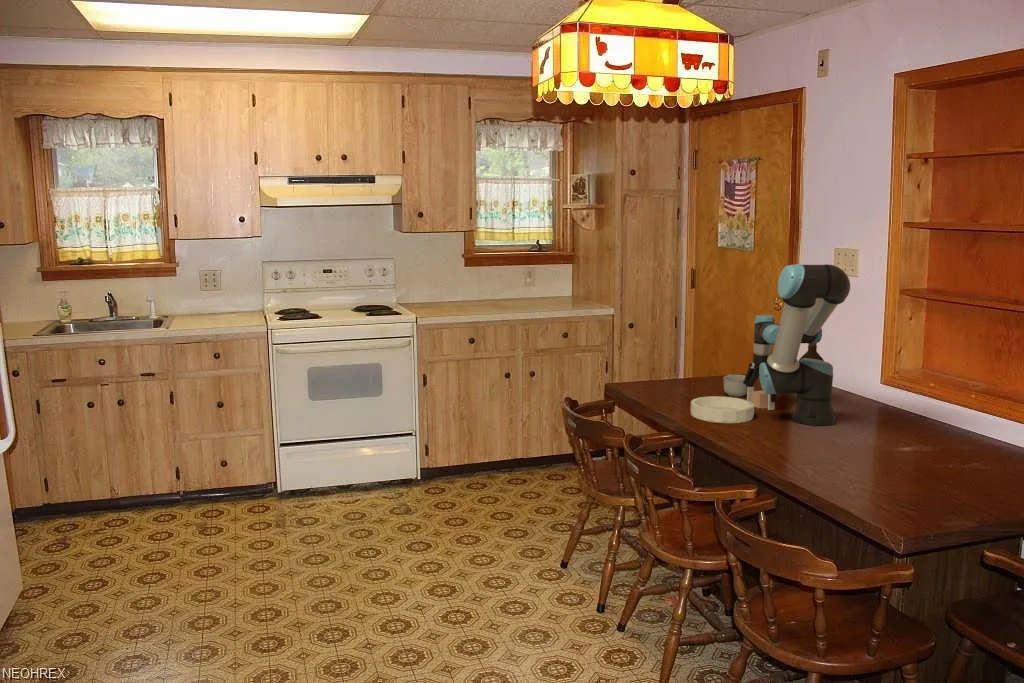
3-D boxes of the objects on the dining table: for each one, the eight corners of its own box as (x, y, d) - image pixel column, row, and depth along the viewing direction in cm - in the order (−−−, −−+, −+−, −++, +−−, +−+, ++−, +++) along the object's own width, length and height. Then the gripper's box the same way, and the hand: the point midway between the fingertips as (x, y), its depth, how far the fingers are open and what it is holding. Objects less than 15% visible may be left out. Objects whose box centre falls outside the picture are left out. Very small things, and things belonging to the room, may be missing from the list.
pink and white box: (769, 407, 350) (770, 393, 349) (759, 408, 348) (760, 394, 347) (761, 404, 354) (762, 390, 353) (751, 406, 352) (752, 391, 351)
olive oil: (813, 406, 352) (817, 345, 348) (790, 401, 360) (793, 341, 356) (827, 402, 359) (831, 342, 354) (804, 397, 367) (808, 339, 363)
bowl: (766, 419, 331) (766, 407, 330) (714, 425, 322) (715, 413, 321) (728, 406, 352) (728, 394, 351) (679, 411, 343) (679, 399, 342)
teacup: (751, 398, 366) (752, 379, 364) (725, 398, 366) (726, 379, 364) (743, 391, 379) (744, 372, 378) (718, 390, 380) (719, 372, 378)
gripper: (791, 358, 338) (788, 412, 341) (751, 348, 360) (748, 398, 364) (775, 359, 335) (772, 414, 338) (736, 349, 357) (733, 400, 361)
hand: (760, 406), depth 351 cm, fingers open, 12 cm apart
